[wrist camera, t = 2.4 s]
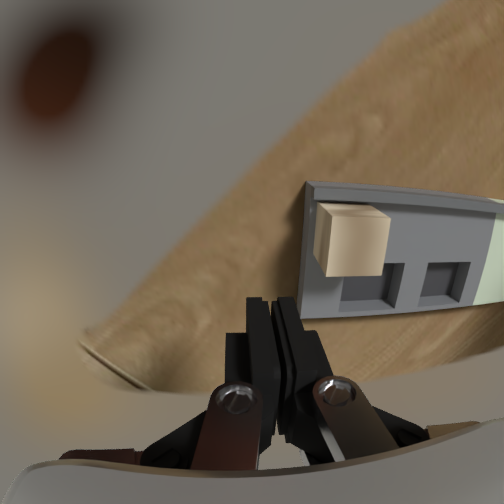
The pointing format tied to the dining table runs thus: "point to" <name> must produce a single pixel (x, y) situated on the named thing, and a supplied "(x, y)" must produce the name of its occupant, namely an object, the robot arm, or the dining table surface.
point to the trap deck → (409, 253)
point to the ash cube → (350, 239)
